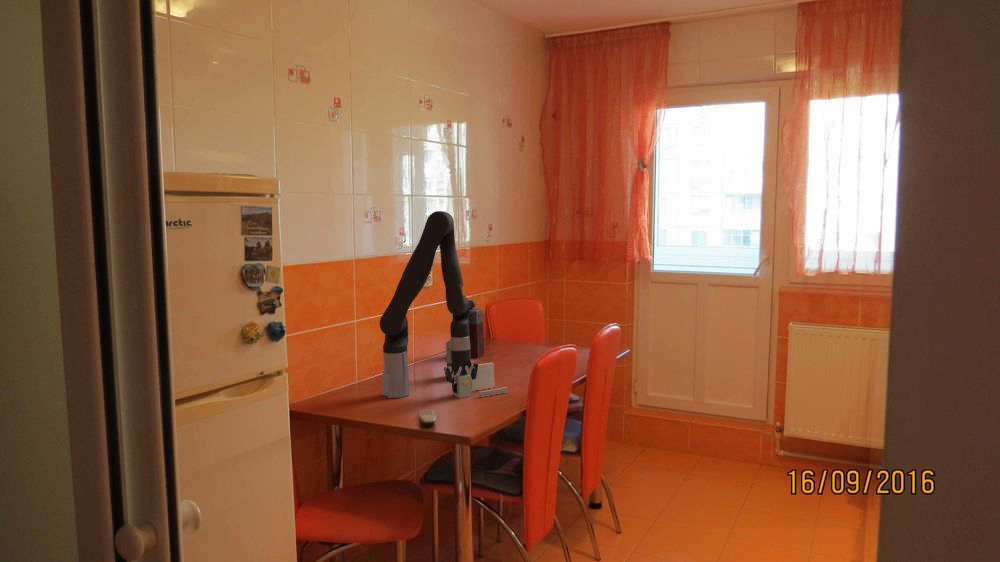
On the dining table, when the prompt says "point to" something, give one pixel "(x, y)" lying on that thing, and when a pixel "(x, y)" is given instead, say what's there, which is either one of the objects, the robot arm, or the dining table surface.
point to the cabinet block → (463, 386)
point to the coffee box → (448, 355)
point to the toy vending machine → (476, 331)
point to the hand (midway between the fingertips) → (462, 391)
